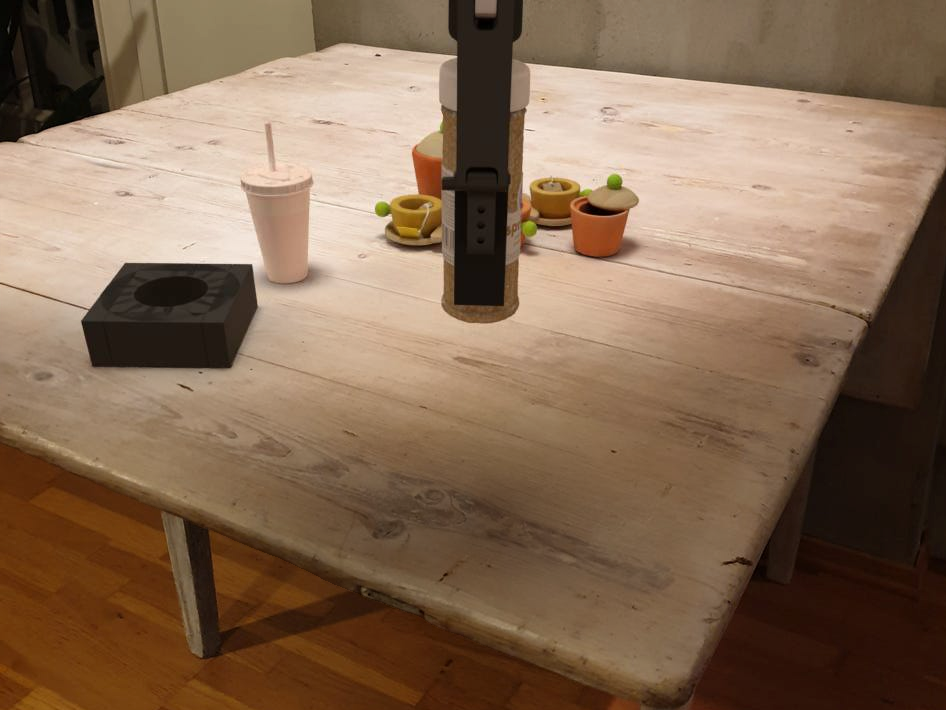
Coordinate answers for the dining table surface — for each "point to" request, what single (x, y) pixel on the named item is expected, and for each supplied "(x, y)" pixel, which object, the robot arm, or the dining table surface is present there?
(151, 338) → the socket pad
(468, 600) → the dining table surface
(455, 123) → the sprinkles bottle
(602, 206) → the toy tea set
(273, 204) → the smoothie
